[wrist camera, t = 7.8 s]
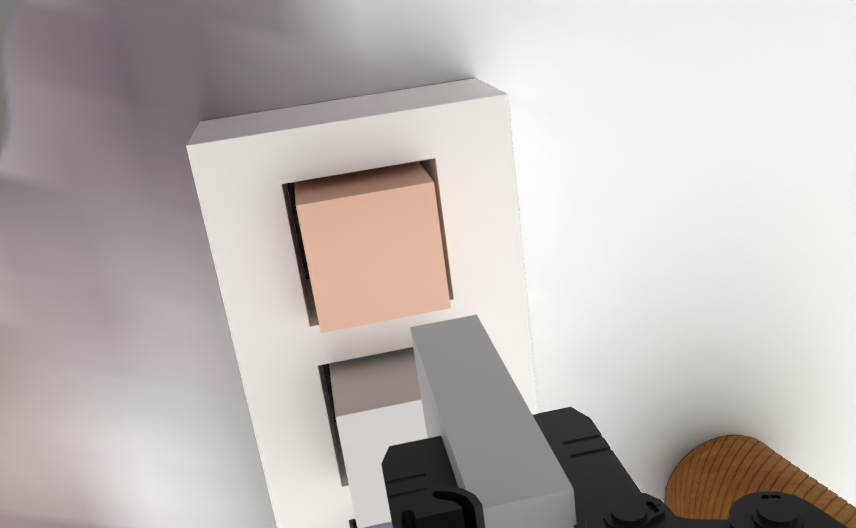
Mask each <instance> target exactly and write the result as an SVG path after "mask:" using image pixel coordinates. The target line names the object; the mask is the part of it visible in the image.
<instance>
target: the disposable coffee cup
mask: <svg viewBox="0 0 856 528" xmlns="http://www.w3.org/2000/svg"><path fill="white" fill-rule="evenodd" d="M774 452H775V451H773V450H772V449H770V448H769V447H768V446H766V445H765V444H764V443H762V442H760V441H759V440H757V439H754V438H750V437H747V436H740V435H732V436H725V437H720V438H717V439H714V440H710V441H708V442H706V443H704V444H702V445H700V446H699V447H697V448H696V449H694V450H693V451H691V452H690V453H689V454H688V455H687V456H686V457H685V458H684V459H683V460H682V461H681V462H680V463H679V465H678V466H677V467H676V469H675V470H674V472H673V474H672V476H671V477H670V479H669V482H668V485H667V488H666V495H665V504H666V505H667V506H668V507H669V508H670V509H671V510H672V512H673V513H674V515H675V516H679V517H683V518H691V519H720V520H729V511H730V509H731V507H732V504H733V502H735V501H736V500H738V499H739V498H741V497H742V496H744V495H747V494H750V493H754V492H758V491H778V492H783V493H787V494H791V495H796V496H798V497H800V498H802V499H804V500H806V501H808V502H810V503H812V504H813V505H815V506H816V507H818V508H819V509H821V510H822V511H824V512H825V513H827V514H828V515H830V516H831V517H833V518H834V519H836V520H837V521H839V522H840V523H842V524H843V525H845V526H846V527H848V528H856V508H855V507H854V506H853V505H851V504H848V503H847V501H846V500H844V499H842V498H841V497H838V495H837V494H835V493H834V492H832V491H831V490H828V488H827V487H825V486H824V485H822V484H820V483H818V481H817V480H815V479H814V478H812V477H809V475H808V474H807V473H805V472H803V471H802V470H800V468H798V467H796V466H795V465H793V464H791V462H789V461H788V460H786V459H784V458H783V457H782V456H781V455H779V454H777V453H774Z"/></svg>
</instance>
